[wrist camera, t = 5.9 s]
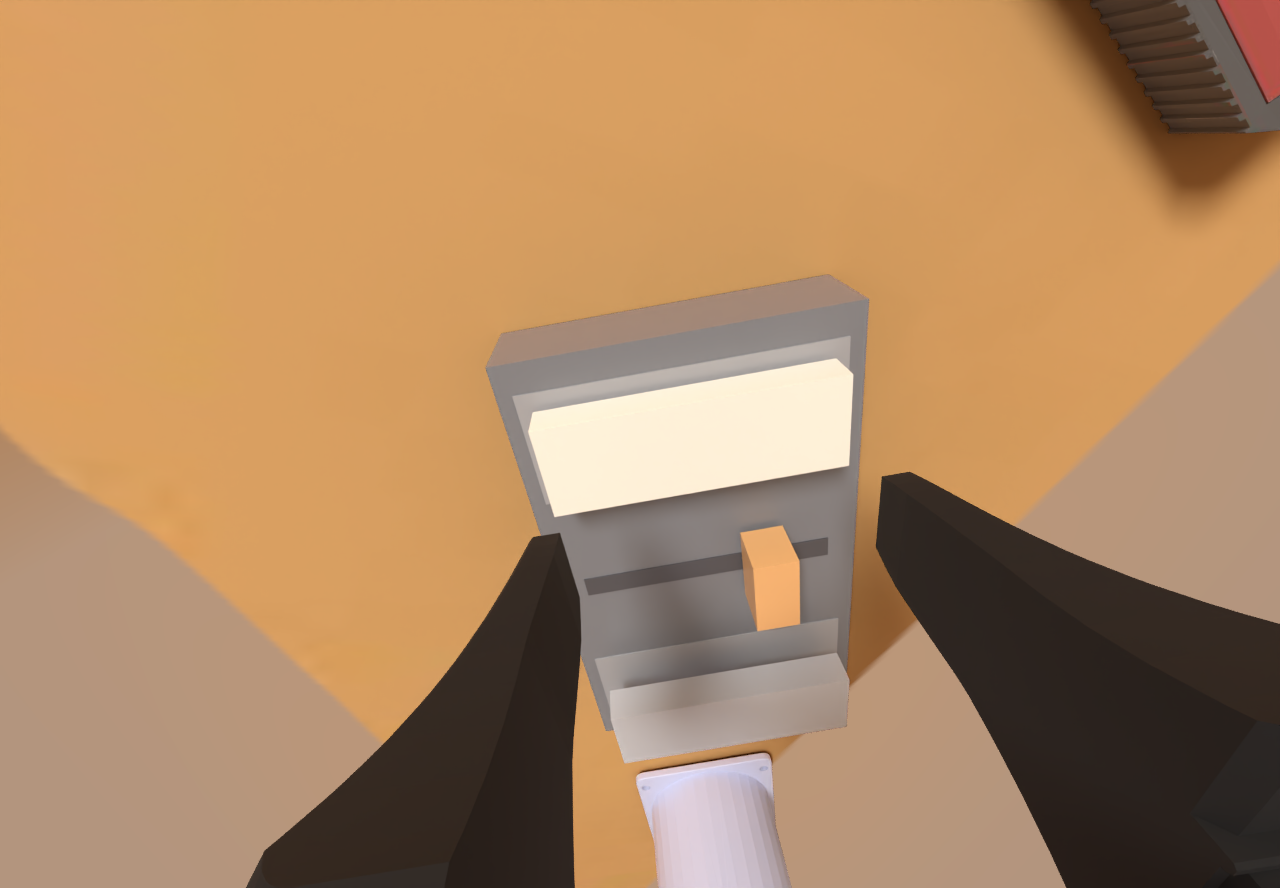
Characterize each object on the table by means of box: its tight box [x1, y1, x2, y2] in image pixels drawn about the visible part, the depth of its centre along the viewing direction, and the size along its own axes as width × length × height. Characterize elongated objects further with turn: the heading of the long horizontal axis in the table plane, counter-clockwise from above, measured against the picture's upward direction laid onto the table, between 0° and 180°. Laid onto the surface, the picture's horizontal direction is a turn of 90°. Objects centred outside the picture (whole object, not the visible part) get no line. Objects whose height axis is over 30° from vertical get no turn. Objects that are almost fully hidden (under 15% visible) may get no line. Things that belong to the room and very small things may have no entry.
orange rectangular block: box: [740, 525, 800, 631], centre depth 19 cm, size 3×2×2 cm, turn 9°
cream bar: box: [528, 358, 853, 517], centre depth 16 cm, size 3×9×1 cm, turn 99°
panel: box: [486, 274, 869, 731], centre depth 21 cm, size 18×11×3 cm, turn 9°
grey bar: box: [610, 653, 850, 763], centre depth 21 cm, size 3×9×1 cm, turn 99°
